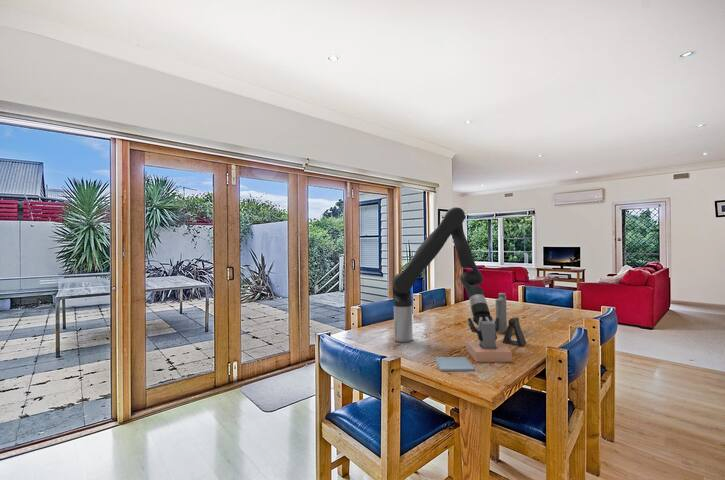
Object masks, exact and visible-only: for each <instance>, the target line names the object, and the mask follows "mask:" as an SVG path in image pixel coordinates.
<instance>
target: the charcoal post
mask: <svg viewBox="0 0 725 480" xmlns="http://www.w3.org/2000/svg"><path fill="white" fill-rule="evenodd" d="M480 331H481V334H482V337H483V340H482V341H480V340H479V341H480V346H481V348H482V349H496V341H497V339H496V336H495V323H493V321H480Z"/></svg>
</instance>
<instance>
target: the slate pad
mask: <svg viewBox="0 0 725 480" xmlns="http://www.w3.org/2000/svg"><path fill="white" fill-rule="evenodd" d="M434 360H435V363H436V365H437V366H438V369H439V371H440V372H475V371H476V369H475V367H474V365H473V364H472V363H471V361H469V359H468V357H466V356H439V357H438V356H436V357H435V356H434Z"/></svg>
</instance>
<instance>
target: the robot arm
mask: <svg viewBox="0 0 725 480" xmlns="http://www.w3.org/2000/svg"><path fill="white" fill-rule="evenodd" d="M465 218H466V214H465V211H464V210H463V209H462V208H460V207H457V206H454V207H451V208H449V209H448V210H447V212H445V215H444V217H443V219H442V221H441V222H440V223H439V224H438V226H437V227H436V228H435V229H434V230H433V231H432V232H431V233H430V234H429V235H428V236H427V237H426V238H425V239H424V240H423V242H422V243H421V245H420V246H419V247H418V248H417V250H416V251H415V253H414V254H413V256H412V258H411V260H410V263H409V264H408V265H407V266H406V267H405V268H404V270H403V271H402V272H400V273H397V274H396V275H394V276H393V279H392V300H393V301H392V302H393V340H394V342H398V343H399V342H401V343H407V342H412V341H413V336H414V335H413V334H414V332H413V300H412V290H411V289H412V288H413V286H414V284H415V283H416V281H417V280H418V278H419V277H420V275H421V274H422V273H423V271H425V269H426V268H427V267H428V266H429V265H430V264H431V263H432V261H433V260H434V259H435V258H436V256H437V255H438V254H439V253H440V251H441V250H442V248H443V247H444V245H445V244H446V243H447V241H448V239H449V237H452V241H453V244H454V247H455V252H456V254H457V258H458V262H459V266H460V267H461V268H465V269H466V268H470V269H471V271H466V272H463V273H461V274H460V277H459V280H460V283H461V284H462V285H463V287H464V288H465V290H466V293H467V295H468V300H469V308H470V309H471V314H472V315H471V316H472V318H470V317H468V319H467V321H466V323H467V325H468V326H469V328H470V330H471V333H475V334H476V336H477V339H478V340H479V341H482V340H483V337H482V334H481V331H480V321H492V322H493V323H495V336H496V340H497V338H498V336H497V333H496V332H498V330H499V318H496V317H495V318H494V317H492V316H491V312H490V308H489V306H488V302H487V299H486V297H485V294H484V291H483V288H482V287H481V286H480V284H482V283H483V282H484V281H483V280H484V277H483V274H482V272H481V271H480V270H479V268H478V266H477V264H476V262H475V258H474V256H473V253H472V249H471V246H470V244H469V242H468V239H467V238H466V234H465V231H464V225H463V223H464V222H465ZM474 323H475V324H476V326H475V324H474Z"/></svg>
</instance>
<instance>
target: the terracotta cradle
mask: <svg viewBox="0 0 725 480" xmlns="http://www.w3.org/2000/svg"><path fill="white" fill-rule="evenodd" d="M466 352H468V354H469V355H470V356H471V357H472V358H473V360H474V361H475V362H476V363H487V362H488V363H490V362H491V363H496V362H497V363H499V362H503V363H506V362H507V363H508V362H513V351H512V350H511V349H509V348H508V347H506V345H504V343H503V342H501V341H499V340H496V349H482V348H481V346H480V340H479V341H477V340H476V341H471V340H470V341H466Z"/></svg>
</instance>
